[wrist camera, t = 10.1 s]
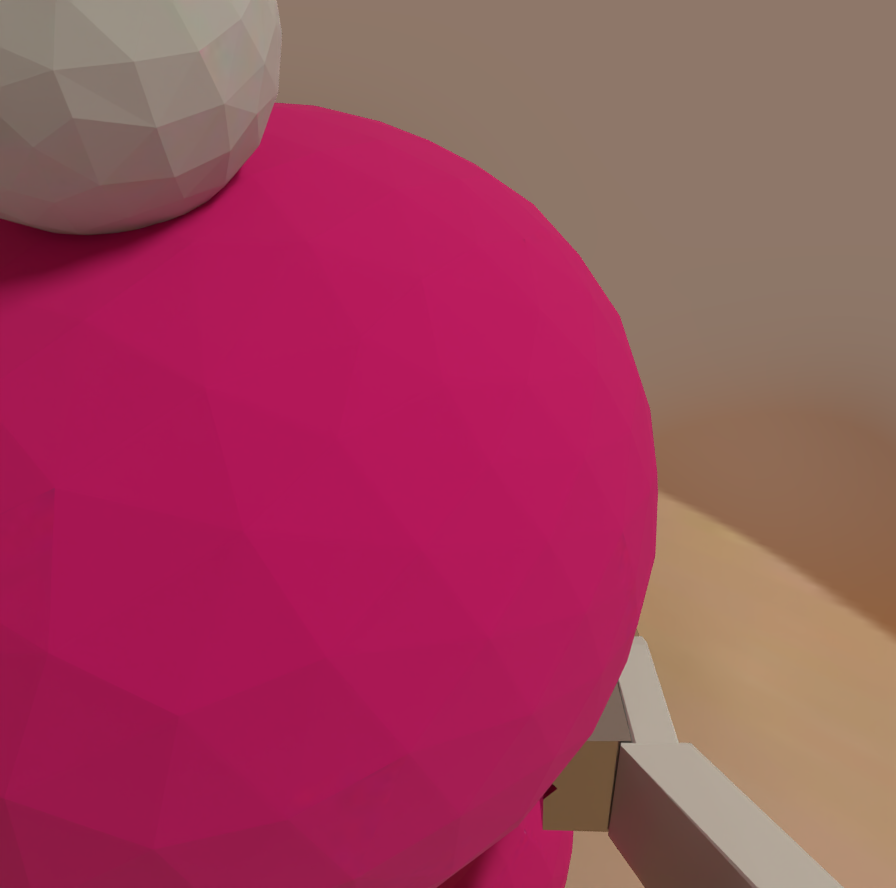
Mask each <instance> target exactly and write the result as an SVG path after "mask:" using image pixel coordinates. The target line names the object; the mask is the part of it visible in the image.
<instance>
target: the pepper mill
mask: <svg viewBox="0 0 896 888" xmlns="http://www.w3.org/2000/svg"><path fill="white" fill-rule="evenodd" d="M281 40H282V32H281V25H280V19H279V13H278V6H277V0H0V888H564V887H565V884H566V880H567V874H568V869H569V864H570V859H571V854H572V844H573V831H562V830H543V828H542V819H541V810H540V798H541V797H542V796H543V795H544V793H545V792H546V791H547V790H548V788H549V787H550V786H551V785H552V783H553V782H554V781H555V780H556V778H557V777H558V776H559V775H560V773H561V772H562V771H563V770H564V768H565V767H566V766H567V765H568V763H569V762H570V761H571V760H572V758H573V757H574V756H575V755H576V753H577V752H578V751H579V750H580V748H581V747H582V746H583V745H584V743H585V742H586V741H587V740H588V738H589V737H590V736H591V735H592V733H593V731H594V729H595V727H596V725H597V723H598V721H599V719H600V717H601V715H602V713H603V711H604V709H605V707H606V704H607V702H608V700H609V698H610V696H611V694H612V692H613V690H614V688H615V686H616V684H617V682H618V680H619V677H620V675H621V673H622V671H623V669H624V667H625V665H626V663H627V660H628V657H629V653H630V650H631V646H632V643H633V639H634V635H635V632H636V628H637V625H638V621H639V617H640V613H641V609H642V605H643V602H644V598H645V594H646V590H647V586H648V582H649V578H650V574H651V570H652V566H653V563H654V559H655V549H656V525H657V501H658V484H657V467H656V458H655V449H654V441H653V431H652V422H651V413H650V407H649V404H648V401H647V398H646V395H645V392H644V389H643V386H642V383H641V380H640V377H639V374H638V371H637V368H636V365H635V362H634V359H633V356H632V352H631V349H630V346H629V343H628V340H627V337H626V334H625V331H624V328H623V325H622V322H621V319H620V316H619V314H618V313H617V311H616V310H615V308H614V307H613V305H612V304H611V302H610V301H609V299H608V298H607V296H606V295H605V293H604V292H603V290H602V289H601V287H600V286H599V284H598V283H597V281H596V280H595V278H594V277H593V275H592V274H591V272H590V271H589V269H588V268H587V266H586V265H585V263H584V262H583V260H582V259H581V257H580V256H579V254H578V253H577V252H576V251H575V250H574V249H573V248H572V246H571V245H570V244H569V243H568V242H567V241H566V240H565V239H564V238H563V237H562V235H561V234H560V233H559V232H558V231H557V230H556V229H555V228H554V227H553V225H552V224H551V223H550V222H549V221H548V220H547V219H546V218H545V217H544V216H543V214H542V213H541V212H540V211H539V210H538V209H537V208H536V207H535V206H534V204H532V203H531V202H529V201H528V200H526V199H525V198H523V197H522V196H521V195H519V194H518V193H516V192H515V191H513V190H512V189H510V188H509V187H507V186H506V185H505V184H503V183H502V182H500V181H499V180H497V179H496V178H495V177H493V176H492V175H490V174H489V173H487V172H486V171H484V170H483V169H481V168H480V167H479V166H477V165H476V164H474V163H472V162H470V161H468V160H466V159H464V158H462V157H460V156H458V155H456V154H454V153H452V152H450V151H448V150H446V149H444V148H443V147H440V146H439V145H437V144H435V143H433V142H430V141H429V140H426V139H424V138H421V137H418V136H416V135H414V134H411V133H408V132H405V131H403V130H401V129H398V128H395V127H393V126H390V125H388V124H385V123H382V122H380V121H376V120H372V119H368V118H363V117H360V116H355V115H351V114H347V113H343V112H339V111H335V110H331V109H326V108H322V107H318V106H311V105H299V104H284V103H274V102H275V100H276V97H277V94H278V86H279V71H280V55H281Z"/></svg>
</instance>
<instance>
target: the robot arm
mask: <svg viewBox="0 0 896 888" xmlns="http://www.w3.org/2000/svg"><path fill="white" fill-rule="evenodd" d="M540 810H541V819H542V828H543V830H562V831H597V832H609V833H608V836H609V837H610V839H611V840H612V841H613V843H614V844H615V846H616V847H617V849H618V850H619V851H620V853H621V854H622V856H623V857H624V858H625V860H626V861H627V863H628V864H629V866H630V867H631V868H632V870H633V871H634V873H635V874H636V875H637V877H638V878H639V880H640V881H641V882H642V884H643V885H644V887H645V888H844V887H842V886H841V885H840V884H839V883H838V882H837V881H836V880H835V879H834V878H833V877H832V876H831V875H830V874H829V873H828V872H827V871H826V870H825V869H823V868H822V867H821V866H820V865H819V864H818V863H817V862H816V861H815V860H814V859H813V858H812V857H811V856H810V855H809V854H808V853H807V852H805V851H804V850H803V849H802V848H801V847H800V846H799V845H798V844H797V843H796V842H795V841H794V840H793V839H792V838H791V837H790V836H789V835H787V834H786V833H785V832H784V831H783V830H782V829H781V828H780V827H779V826H778V825H777V824H776V823H775V822H774V821H773V820H772V819H771V818H769V817H768V816H767V815H766V814H765V813H764V812H763V811H762V810H761V809H760V808H759V807H758V806H757V805H756V804H755V803H754V802H753V801H752V800H750V799H749V798H748V797H747V796H746V795H745V794H744V793H743V792H742V791H741V790H740V789H739V788H738V787H737V786H736V785H735V784H734V783H732V782H731V781H730V780H729V779H728V778H727V777H726V776H725V775H724V774H723V773H722V772H721V771H720V770H719V769H718V768H717V767H716V766H714V765H713V764H712V763H711V762H710V761H709V760H708V759H707V758H706V757H705V756H704V755H703V754H702V753H701V752H700V751H699V750H698V749H697V748H695V747H694V746H693V745H692V744H691V743H679V742H678V739H677V736H676V733H675V730H674V726H673V723H672V720H671V717H670V714H669V711H668V708H667V704H666V701H665V698H664V695H663V692H662V689H661V686H660V682H659V679H658V676H657V673H656V670H655V667H654V664H653V660H652V657H651V654H650V651H649V648H648V645H647V642H646V641H645V640H644V638H643V637H642V636H634V639H633V643H632V646H631V650H630V653H629V657H628V660H627V663H626V665H625V667H624V669H623V671H622V673H621V675H620V677H619V680H618V682H617V684H616V686H615V688H614V690H613V692H612V694H611V696H610V698H609V700H608V702H607V704H606V707H605V709H604V711H603V713H602V715H601V717H600V719H599V721H598V723H597V725H596V727H595V729H594V731H593V733H592V735H591V736H590V737H589V738H588V740H587V741H586V742H585V743H584V745H583V746H582V747H581V748H580V750H579V751H578V752H577V753H576V755H575V756H574V757H573V758H572V760H571V761H570V762H569V763H568V765H567V766H566V767H565V768H564V770H563V771H562V772H561V773H560V775H559V776H558V777H557V778H556V780H555V781H554V782H553V783H552V785H551V786H550V787H549V788H548V790H547V791H546V792H545V793H544V795H543V796H542V797H541V798H540Z"/></svg>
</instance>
